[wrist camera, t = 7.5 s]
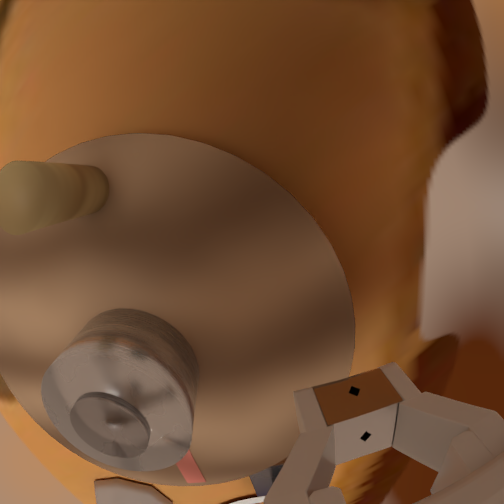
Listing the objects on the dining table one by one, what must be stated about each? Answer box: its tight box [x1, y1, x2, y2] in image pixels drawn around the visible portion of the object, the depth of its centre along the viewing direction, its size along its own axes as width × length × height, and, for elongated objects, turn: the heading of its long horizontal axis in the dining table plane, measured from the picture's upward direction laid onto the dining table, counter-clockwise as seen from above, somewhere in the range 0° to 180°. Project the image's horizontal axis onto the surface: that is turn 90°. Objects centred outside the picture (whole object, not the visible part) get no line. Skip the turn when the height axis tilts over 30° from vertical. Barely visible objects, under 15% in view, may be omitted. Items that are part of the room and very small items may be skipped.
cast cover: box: [41, 308, 199, 471], centre depth 11 cm, size 6×6×4 cm
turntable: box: [0, 133, 355, 486], centre depth 12 cm, size 20×20×7 cm
